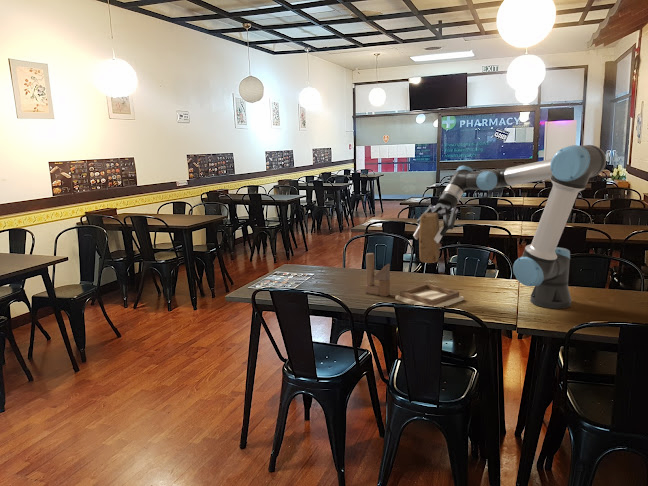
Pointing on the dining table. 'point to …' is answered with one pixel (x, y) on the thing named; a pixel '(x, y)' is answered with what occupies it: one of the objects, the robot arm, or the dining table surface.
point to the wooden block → (382, 276)
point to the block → (428, 238)
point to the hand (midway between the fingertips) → (425, 239)
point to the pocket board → (429, 296)
